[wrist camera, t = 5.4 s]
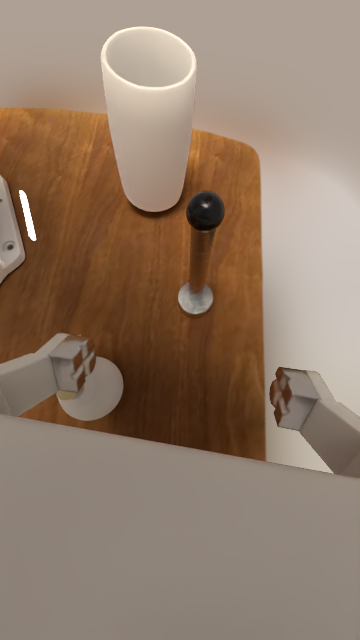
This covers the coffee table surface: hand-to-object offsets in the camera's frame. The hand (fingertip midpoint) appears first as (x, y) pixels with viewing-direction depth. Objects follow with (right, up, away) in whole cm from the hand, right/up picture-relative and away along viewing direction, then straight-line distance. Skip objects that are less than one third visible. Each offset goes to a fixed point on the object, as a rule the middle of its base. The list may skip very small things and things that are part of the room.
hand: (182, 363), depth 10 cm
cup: (-4, +20, +22) cm, 30 cm away
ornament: (-9, -5, +16) cm, 19 cm away
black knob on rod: (+2, +4, +18) cm, 18 cm away
